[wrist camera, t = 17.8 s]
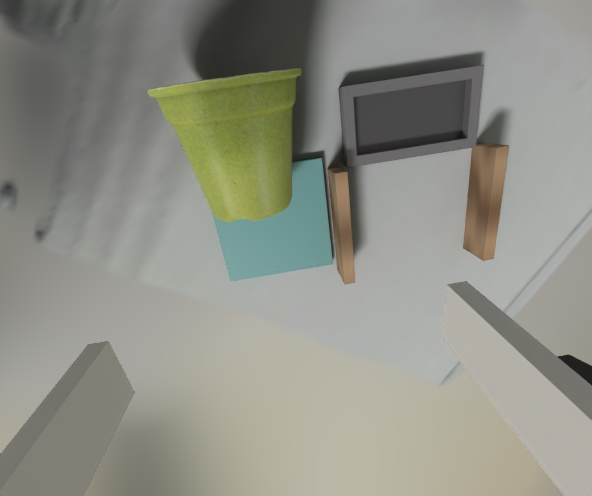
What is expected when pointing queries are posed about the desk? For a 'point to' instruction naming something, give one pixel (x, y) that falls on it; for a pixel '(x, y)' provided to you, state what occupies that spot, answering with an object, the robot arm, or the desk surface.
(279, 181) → the plant pot
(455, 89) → the tray
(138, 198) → the desk surface
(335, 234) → the channel
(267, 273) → the pad
